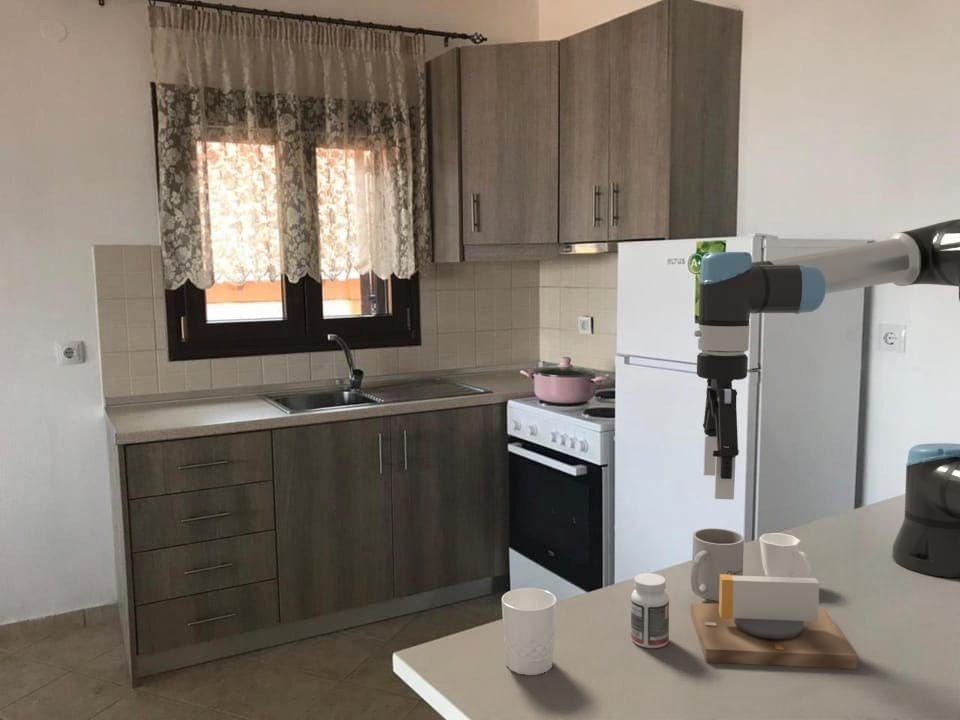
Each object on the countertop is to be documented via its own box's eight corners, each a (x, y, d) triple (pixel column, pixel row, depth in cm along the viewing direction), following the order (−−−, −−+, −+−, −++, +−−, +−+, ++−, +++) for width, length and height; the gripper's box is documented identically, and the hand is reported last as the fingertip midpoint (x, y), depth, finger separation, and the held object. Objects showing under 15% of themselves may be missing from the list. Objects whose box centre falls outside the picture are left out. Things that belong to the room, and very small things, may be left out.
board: (823, 619, 130) (823, 606, 130) (857, 669, 114) (857, 654, 114) (690, 614, 133) (690, 601, 133) (705, 662, 117) (706, 647, 117)
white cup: (540, 683, 112) (540, 615, 111) (492, 669, 116) (491, 602, 115) (565, 659, 118) (565, 594, 117) (519, 646, 123) (518, 583, 121)
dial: (806, 611, 127) (808, 567, 127) (825, 641, 118) (827, 593, 117) (714, 608, 129) (715, 564, 128) (725, 637, 119) (726, 590, 118)
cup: (776, 571, 150) (777, 530, 149) (822, 590, 142) (823, 546, 141) (749, 579, 147) (750, 536, 146) (795, 598, 138) (796, 553, 137)
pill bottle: (670, 635, 126) (671, 574, 124) (666, 652, 120) (667, 588, 119) (633, 630, 127) (634, 570, 126) (628, 646, 122) (628, 583, 121)
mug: (714, 577, 148) (715, 525, 147) (752, 593, 141) (754, 538, 140) (666, 593, 141) (667, 538, 140) (704, 610, 134) (706, 552, 133)
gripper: (689, 344, 137) (685, 465, 140) (707, 361, 113) (702, 508, 115) (734, 344, 136) (730, 467, 138) (763, 362, 111) (757, 511, 114)
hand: (717, 486), depth 127 cm, fingers open, 13 cm apart
